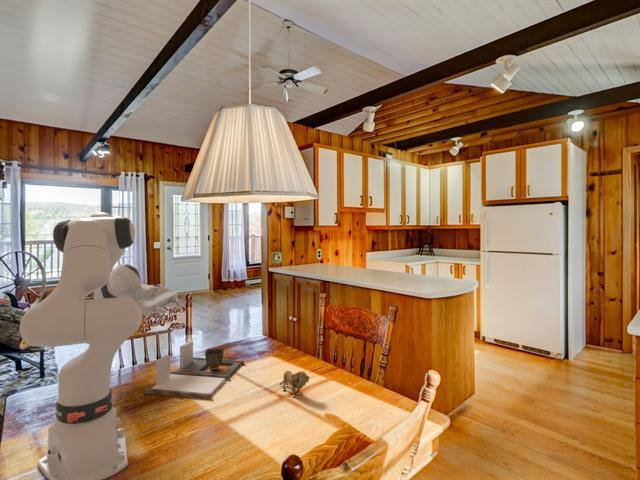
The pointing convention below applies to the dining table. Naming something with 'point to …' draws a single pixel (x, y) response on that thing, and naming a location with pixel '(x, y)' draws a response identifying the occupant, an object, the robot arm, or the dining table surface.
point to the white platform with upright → (183, 380)
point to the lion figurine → (295, 380)
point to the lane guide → (190, 394)
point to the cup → (214, 358)
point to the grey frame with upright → (199, 362)
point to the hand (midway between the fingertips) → (173, 307)
